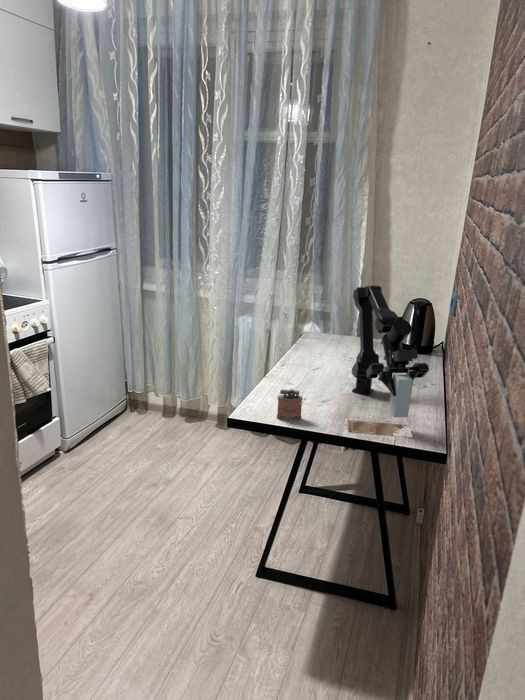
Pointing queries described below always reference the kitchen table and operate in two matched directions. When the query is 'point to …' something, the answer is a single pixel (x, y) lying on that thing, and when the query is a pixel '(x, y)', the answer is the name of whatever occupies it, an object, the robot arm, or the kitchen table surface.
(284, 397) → the lighter
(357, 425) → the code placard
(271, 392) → the kitchen table surface
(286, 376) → the kitchen table surface
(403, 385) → the tall block
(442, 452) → the kitchen table surface
